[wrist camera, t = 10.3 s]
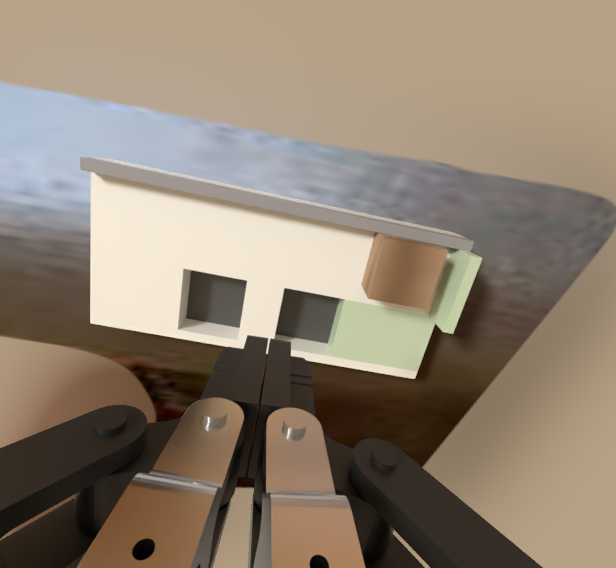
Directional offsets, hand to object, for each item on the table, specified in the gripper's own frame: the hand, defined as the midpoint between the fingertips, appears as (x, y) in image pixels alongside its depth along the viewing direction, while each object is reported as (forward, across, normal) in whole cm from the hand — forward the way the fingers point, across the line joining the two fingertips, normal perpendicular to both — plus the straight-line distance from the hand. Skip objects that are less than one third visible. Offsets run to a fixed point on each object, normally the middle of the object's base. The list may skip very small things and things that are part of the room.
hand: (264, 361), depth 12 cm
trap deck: (+18, 0, +2) cm, 18 cm away
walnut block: (+15, -9, -1) cm, 18 cm away
